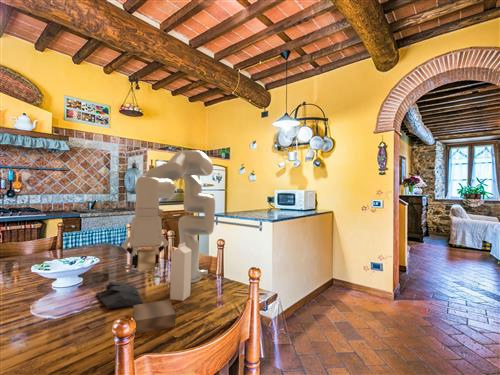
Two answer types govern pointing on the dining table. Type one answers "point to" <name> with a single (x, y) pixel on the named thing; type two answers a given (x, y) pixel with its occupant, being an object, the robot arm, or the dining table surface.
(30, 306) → the dining table surface
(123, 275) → the dining table surface
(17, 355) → the dining table surface
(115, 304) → the dark slate chunk
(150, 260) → the beech block
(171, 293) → the milk
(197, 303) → the dining table surface
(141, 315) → the walnut base
